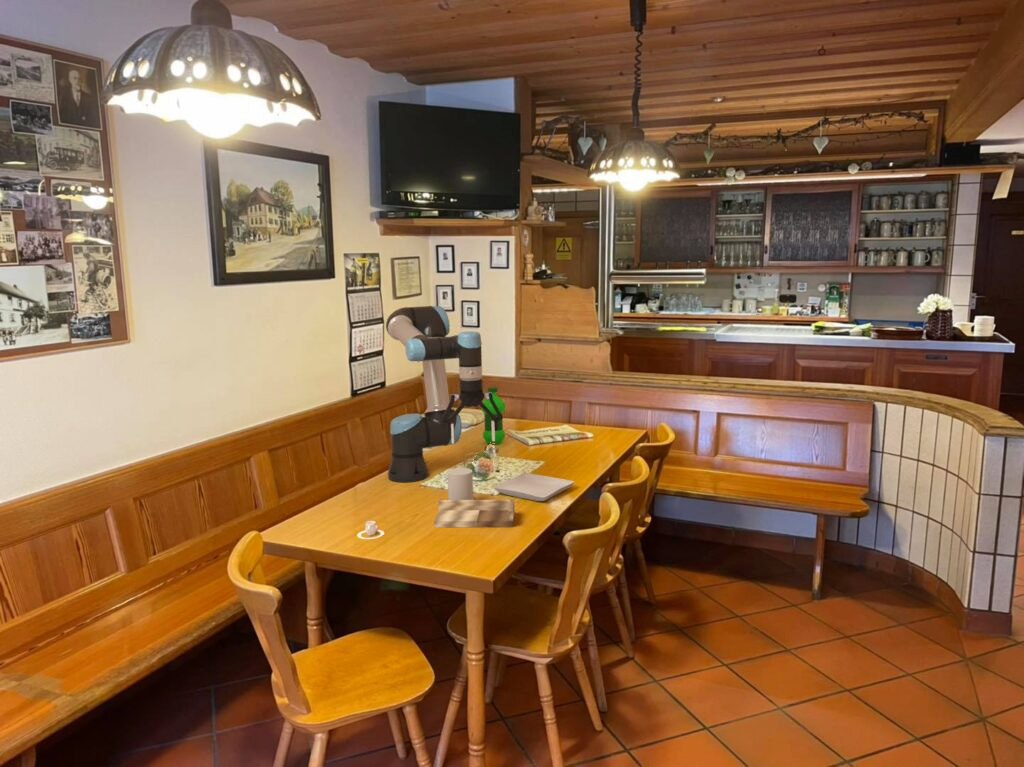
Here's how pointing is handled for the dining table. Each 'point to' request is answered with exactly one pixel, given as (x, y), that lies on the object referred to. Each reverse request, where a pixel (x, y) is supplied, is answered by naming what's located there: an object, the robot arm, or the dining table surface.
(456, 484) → the beige cylinder
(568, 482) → the salad plate
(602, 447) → the dining table surface
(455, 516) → the rail board
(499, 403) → the plastic bottle
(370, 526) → the white looped ring
